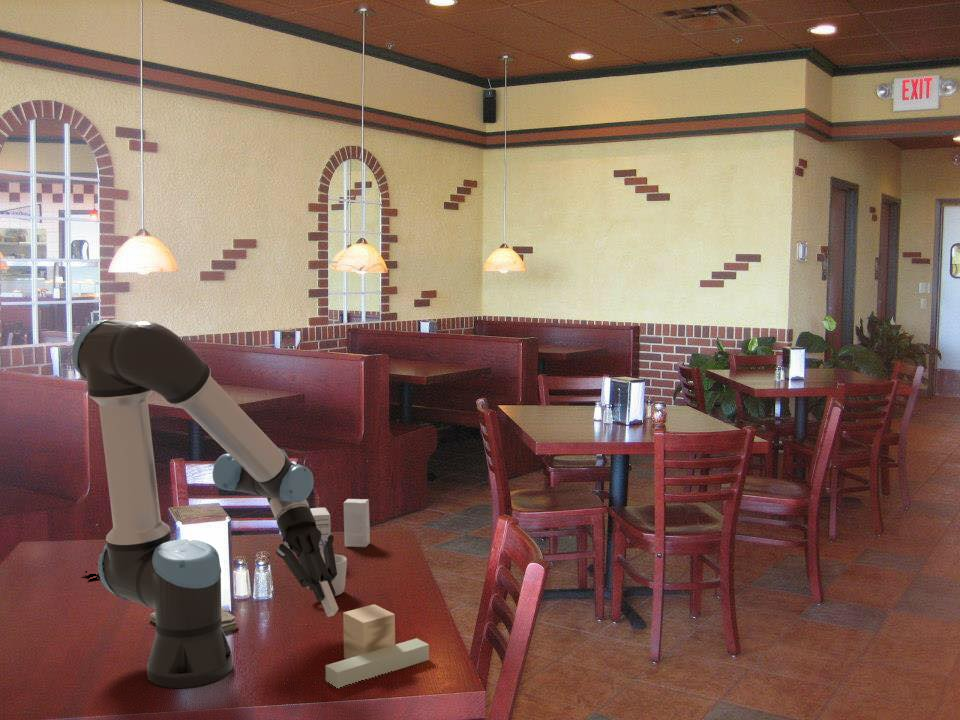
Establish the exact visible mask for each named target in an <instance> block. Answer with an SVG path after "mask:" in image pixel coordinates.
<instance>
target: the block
mask: <svg viewBox="0 0 960 720" xmlns="http://www.w3.org/2000/svg"><path fill="white" fill-rule="evenodd" d="M342 613H343V615H342V617H343V621H342V622H343V658H344V659H345V658H346V659H349V658H352V657H355V656H359V655H362V654H365V653H369V652H372V651H375V650H379V649H382V648H386V647H389V646H392V645H396V621H395V620H396V614H395V613H393V612H391V611H389V610H387V609H385V608H382V607H381V606H379V605H376V604H370V605H366V606H363V607H359V608H355V609H352V610H348V611H343V612H342Z"/></svg>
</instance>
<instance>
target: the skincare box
mask: <svg viewBox="0 0 960 720" xmlns="http://www.w3.org/2000/svg"><path fill="white" fill-rule="evenodd" d="M342 504H343V529H344V531H343V532H344V533H343V534H344V547H345V548H346V547H347V548H348V547H349V548H350V547H353V548H366V547H367V546H368V545H370V543H371V538H370V537H371V535H370V533H371V532H370V531H371V530H370V500H369V498H368V499H367V498H366V499H365V498H363V499H360V498H347V499H346V500H345V501H344V502H343V503H342Z"/></svg>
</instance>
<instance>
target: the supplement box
mask: <svg viewBox="0 0 960 720" xmlns="http://www.w3.org/2000/svg"><path fill="white" fill-rule="evenodd" d="M309 508H310V507H309ZM310 510H311V512H312V515H313V517H314V519H315V522H316V527H317V528H318V529H319V530H320V531H321V533H322V535H325V536H327V537H328V536H329V535H332V534H331V514H330V512H329V510H328V509H327V508H326V507H313V508H310ZM319 547H320V553H321V555H324V553H323V547H322V544H321V541H320V543H319Z"/></svg>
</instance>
